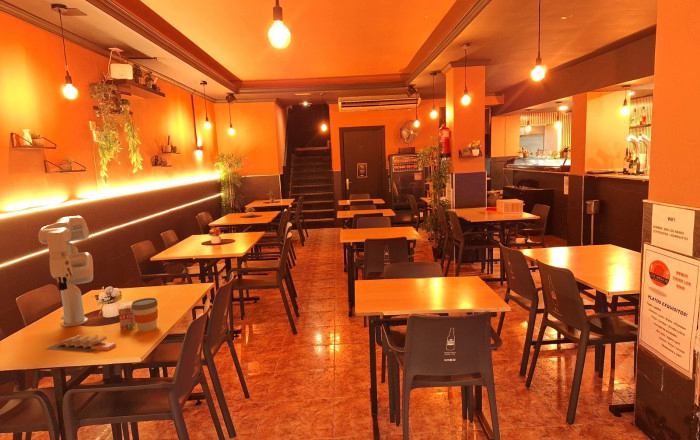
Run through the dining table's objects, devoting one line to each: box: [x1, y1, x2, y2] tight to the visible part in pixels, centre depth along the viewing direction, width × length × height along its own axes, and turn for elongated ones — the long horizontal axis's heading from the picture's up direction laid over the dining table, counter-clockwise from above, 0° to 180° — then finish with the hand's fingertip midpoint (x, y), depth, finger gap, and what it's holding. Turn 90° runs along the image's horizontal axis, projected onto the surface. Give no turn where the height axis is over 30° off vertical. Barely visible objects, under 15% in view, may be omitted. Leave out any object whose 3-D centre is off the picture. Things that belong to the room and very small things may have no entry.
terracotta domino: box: [91, 341, 117, 351], centre depth 222 cm, size 2×5×10 cm
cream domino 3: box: [74, 335, 99, 348], centre depth 224 cm, size 2×5×10 cm
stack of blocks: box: [117, 300, 137, 332], centre depth 254 cm, size 21×6×12 cm, turn 20°
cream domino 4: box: [83, 335, 108, 348], centre depth 223 cm, size 2×5×10 cm
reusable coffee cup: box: [132, 297, 159, 333], centre depth 244 cm, size 12×12×15 cm
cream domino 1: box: [56, 334, 82, 346], centre depth 227 cm, size 2×5×10 cm
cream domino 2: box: [65, 335, 90, 347], centre depth 226 cm, size 2×5×10 cm
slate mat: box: [45, 339, 112, 354], centre depth 226 cm, size 28×12×1 cm, turn 74°
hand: (63, 289), depth 238 cm, fingers closed
